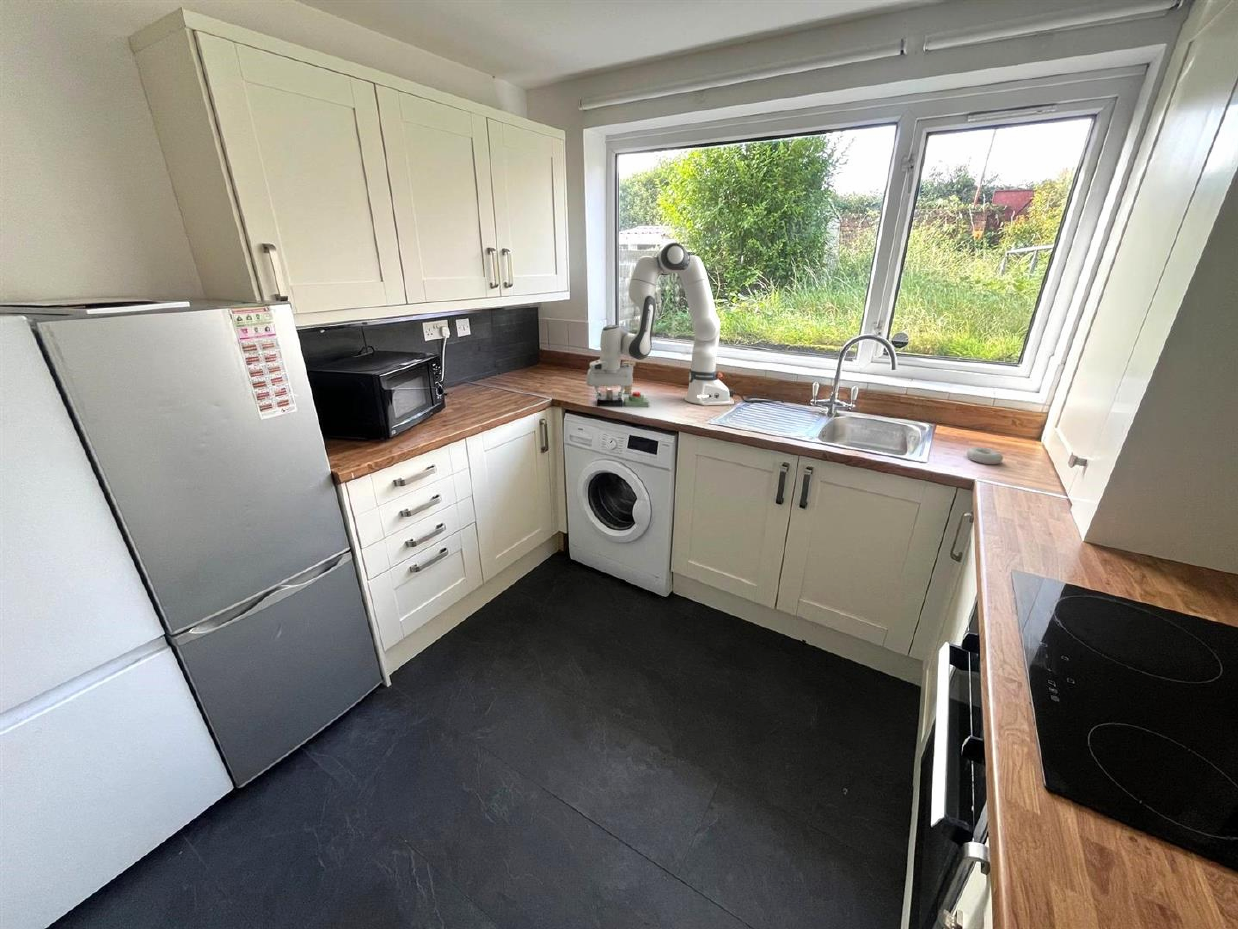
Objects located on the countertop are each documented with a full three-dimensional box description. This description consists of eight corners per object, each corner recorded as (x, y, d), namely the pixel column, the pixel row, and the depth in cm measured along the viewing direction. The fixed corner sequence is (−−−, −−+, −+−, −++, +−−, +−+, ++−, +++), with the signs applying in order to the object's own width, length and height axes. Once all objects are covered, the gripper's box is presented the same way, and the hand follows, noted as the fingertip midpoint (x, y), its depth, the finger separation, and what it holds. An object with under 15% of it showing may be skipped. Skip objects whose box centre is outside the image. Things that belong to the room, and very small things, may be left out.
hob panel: (620, 401, 226) (620, 394, 225) (622, 407, 216) (622, 400, 215) (596, 400, 225) (596, 394, 224) (597, 406, 216) (597, 399, 215)
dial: (606, 395, 222) (606, 387, 221) (609, 395, 223) (609, 387, 221) (608, 398, 217) (609, 390, 215) (612, 398, 217) (612, 390, 216)
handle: (635, 394, 240) (637, 362, 235) (623, 394, 238) (624, 363, 232) (631, 391, 244) (633, 361, 239) (619, 392, 242) (620, 361, 237)
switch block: (646, 402, 226) (646, 393, 224) (648, 406, 218) (648, 398, 217) (624, 402, 225) (624, 393, 224) (625, 406, 218) (625, 397, 216)
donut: (987, 467, 162) (1008, 464, 165) (990, 457, 160) (1011, 454, 163) (958, 457, 170) (979, 454, 173) (961, 447, 169) (982, 444, 172)
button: (640, 395, 222) (640, 391, 222) (640, 397, 219) (641, 393, 218) (631, 395, 222) (632, 391, 221) (632, 397, 219) (632, 393, 218)
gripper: (631, 362, 220) (630, 393, 225) (585, 363, 215) (585, 394, 220) (635, 365, 214) (633, 396, 219) (588, 365, 209) (588, 397, 214)
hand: (609, 395), depth 219 cm, fingers open, 8 cm apart
